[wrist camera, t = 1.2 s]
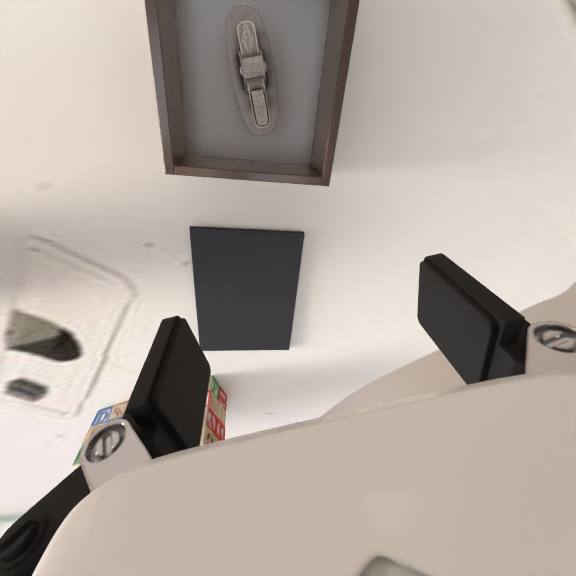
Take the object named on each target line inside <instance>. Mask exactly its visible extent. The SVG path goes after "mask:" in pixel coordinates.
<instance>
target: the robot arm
mask: <svg viewBox="0 0 576 576" xmlns="http://www.w3.org/2000/svg"><path fill="white" fill-rule="evenodd" d="M417 316H418V320H419V323H420V324H421V326H422V327H423V328H424V330H425V331H426V332H427V333H428V335H429V336H430V337H431V339H432V340H433V341H434V343H435V344H436V345H437V346H438V348H439V349H440V350H441V351H442V353H443V354H444V355H445V357H446V358H447V359H448V361H449V362H450V363H451V364H452V366H453V367H454V368H455V370H456V371H457V372H458V374H459V375H460V376H461V377H462V379H463V380H464V381H465V382H466V384H467V385H464V386H459V387H455V388H450V389H445V390H441V391H436V392H431V393H428V394H423V395H418V396H413V397H409V398H404V399H400V400H395V401H391V402H386V403H382V404H378V405H373V406H369V407H364V408H360V409H355V410H351V411H347V412H342V413H338V414H333V415H329V416H324V417H320V418H316V419H311V420H307V421H303V422H298V423H294V424H290V425H285V426H281V427H277V428H272V429H268V430H264V431H260V432H255V433H251V434H247V435H242V436H238V437H234V438H230V439H225V440H221V441H217V442H213V443H209V444H205V445H201V446H200V441H201V434H202V427H203V420H204V414H205V407H206V400H207V393H208V387H209V380H210V373H211V370H210V365H209V363H208V361H207V359H206V357H205V355H204V353H203V351H202V349H201V348H200V346H199V344H198V342H197V340H196V338H195V336H194V334H193V332H192V330H191V329H190V327H189V325H188V323H187V321H186V319H184V318H182V319H181V318H180V317H179V316H175V317H170V318H166V319H163V320H162V322H161V324H160V327H159V329H158V332H157V334H156V337H155V339H154V341H153V344H152V346H151V349H150V351H149V354H148V356H147V359H146V361H145V363H144V365H143V368H142V370H141V373H140V375H139V377H138V380H137V382H136V385H135V387H134V390H133V392H132V394H131V397H130V399H129V402H128V404H127V407H126V409H125V412H124V414H123V416H122V419H115V420H112V421H110V422H107V423H105V424H104V425H102V426H101V427H99V428H98V429H97V430H96V431H95V432H93V433H92V434H91V435H90V437H89V438H88V439H87V440H86V442H85V443H84V445H83V447H82V449H81V452H80V455H79V459H80V464H81V465H80V466H79V467H78V468H77V469H75V470H74V471H73V472H72V473H71V474H70V475H68V476H67V477H66V478H65V479H64V480H63V481H62V482H60V483H59V484H58V485H57V486H56V487H55V488H54V489H52V490H51V491H50V492H49V493H48V494H47V495H46V496H44V497H43V498H42V499H41V500H40V501H39V502H37V503H36V504H35V505H34V506H33V507H32V508H31V509H29V510H28V511H27V512H26V513H25V514H24V515H23V516H21V517H20V518H19V519H18V520H17V521H16V522H15V523H14V524H13V525H12V526H11V527H10V528H9V529H8V530H7V531H6V532H5V533H4V535H3V536H2V537H1V538H0V576H576V327H575V326H572V325H570V324H566V323H562V322H557V321H540V322H536V323H533V324H532V325H531V324H530V323H529V322H527V321H526V320H525V318H524V317H523V316H522V315H521V314H520V313H518V312H517V311H516V310H514V309H513V308H512V307H511V306H509V305H508V304H507V303H505V302H504V301H503V300H502V299H500V298H499V297H498V296H496V295H495V294H494V293H493V292H491V291H490V290H489V289H487V288H486V287H485V286H484V285H482V284H481V283H480V282H478V281H477V280H476V279H475V278H473V277H472V276H471V275H469V274H468V273H467V272H466V271H464V270H463V269H462V268H460V267H459V266H458V265H457V264H455V263H454V262H453V261H451V260H450V259H449V258H448V257H446V256H445V255H444V254H442V253H440V254H436V255H431V256H427V257H425V258H424V261H422V262H421V263H420V272H419V293H418V314H417Z"/></svg>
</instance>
